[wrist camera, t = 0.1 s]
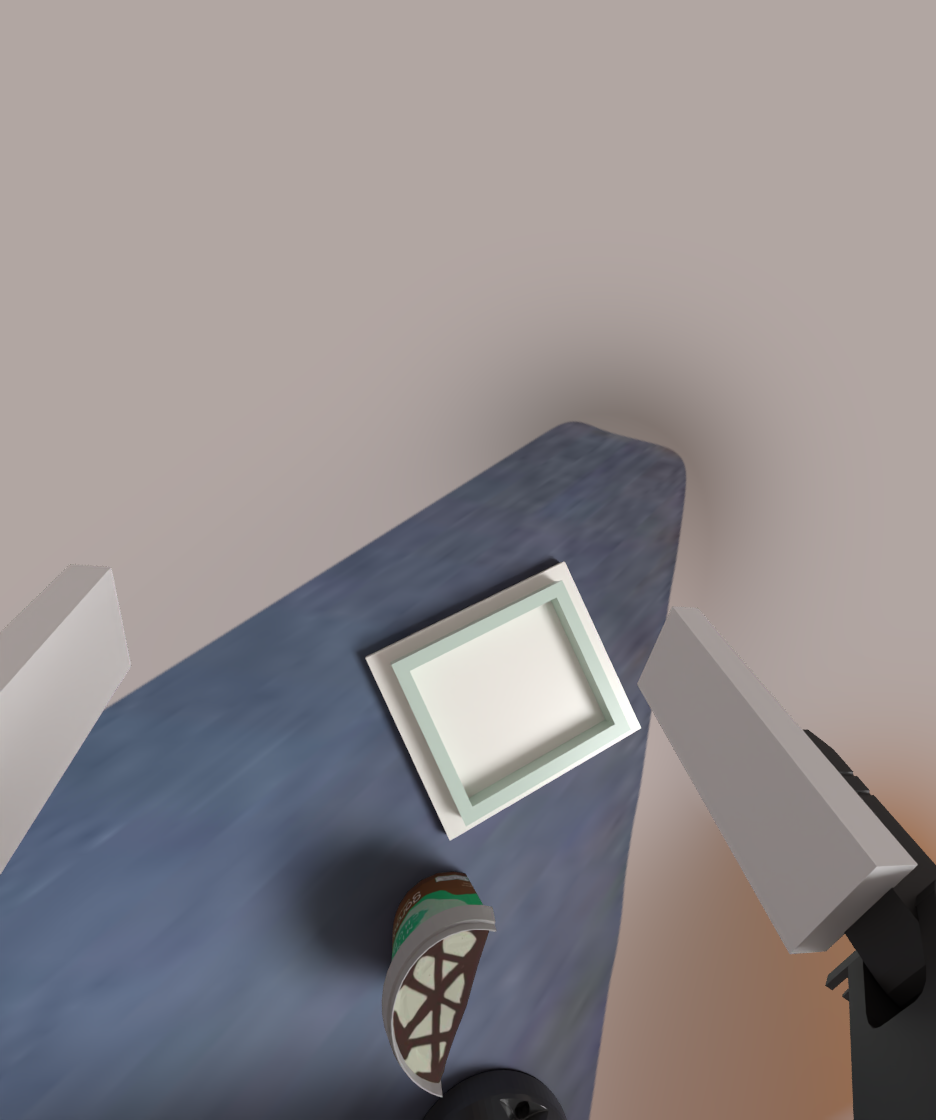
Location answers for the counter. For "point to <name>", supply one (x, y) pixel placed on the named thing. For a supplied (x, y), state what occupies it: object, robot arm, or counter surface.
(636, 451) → the counter surface
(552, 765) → the pocket plate
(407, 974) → the food container
